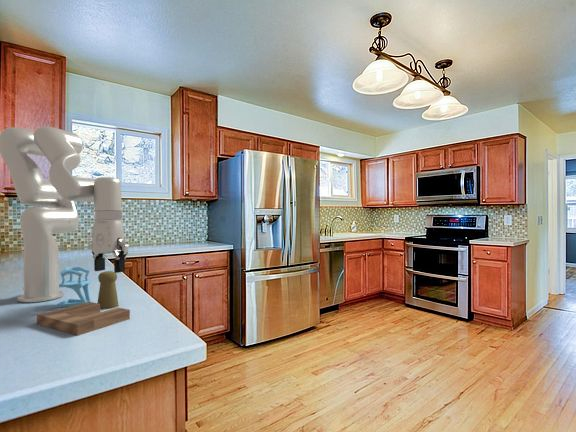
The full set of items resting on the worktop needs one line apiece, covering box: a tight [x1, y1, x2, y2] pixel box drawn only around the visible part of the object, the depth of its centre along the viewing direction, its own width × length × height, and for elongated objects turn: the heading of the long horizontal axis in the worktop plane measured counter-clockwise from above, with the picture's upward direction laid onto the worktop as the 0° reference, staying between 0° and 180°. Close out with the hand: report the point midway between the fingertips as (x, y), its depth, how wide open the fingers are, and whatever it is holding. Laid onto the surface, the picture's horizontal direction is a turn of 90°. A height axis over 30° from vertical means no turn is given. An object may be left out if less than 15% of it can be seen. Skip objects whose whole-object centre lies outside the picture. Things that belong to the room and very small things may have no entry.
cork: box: [97, 270, 119, 310], centre depth 102 cm, size 6×6×11 cm
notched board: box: [36, 301, 131, 336], centre depth 87 cm, size 18×14×2 cm
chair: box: [54, 266, 92, 309], centre depth 104 cm, size 8×8×12 cm
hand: (109, 271), depth 101 cm, fingers open, 9 cm apart
